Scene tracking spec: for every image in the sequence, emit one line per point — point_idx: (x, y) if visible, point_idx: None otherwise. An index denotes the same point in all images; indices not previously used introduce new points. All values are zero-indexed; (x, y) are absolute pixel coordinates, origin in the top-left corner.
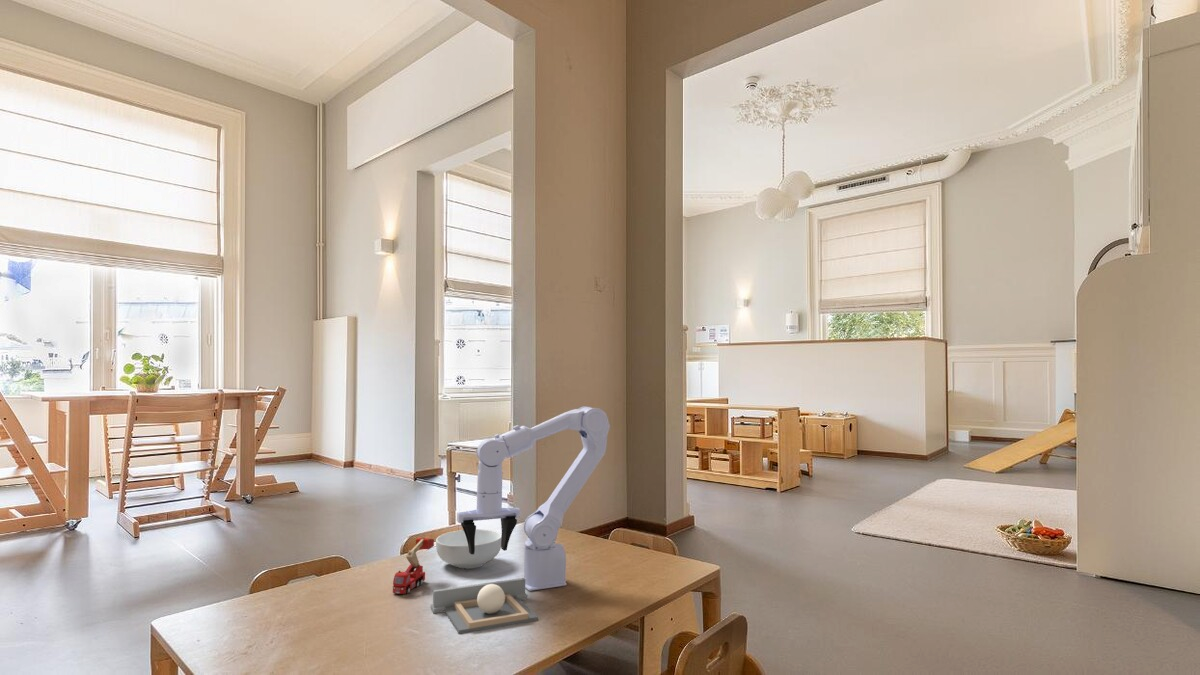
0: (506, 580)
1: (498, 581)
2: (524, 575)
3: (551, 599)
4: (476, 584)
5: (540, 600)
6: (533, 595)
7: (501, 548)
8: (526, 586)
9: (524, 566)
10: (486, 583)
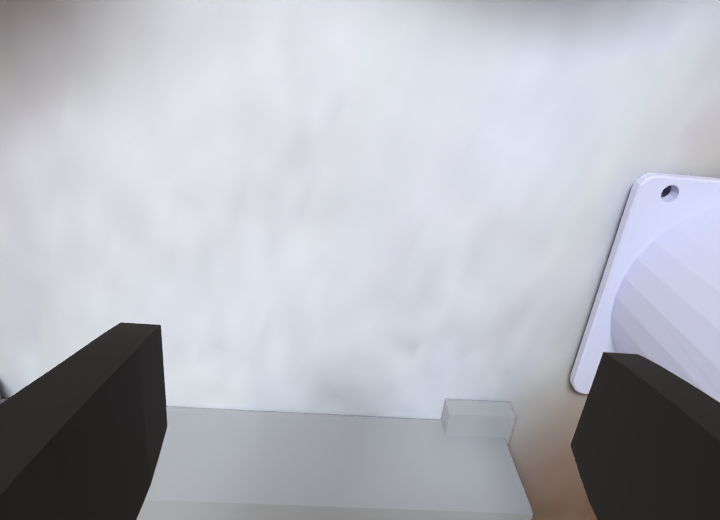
0: (400, 514)
1: (340, 512)
2: (647, 315)
3: (591, 508)
4: (175, 503)
5: (537, 499)
6: (551, 433)
7: (601, 360)
8: (588, 348)
9: (691, 349)
10: (248, 513)
